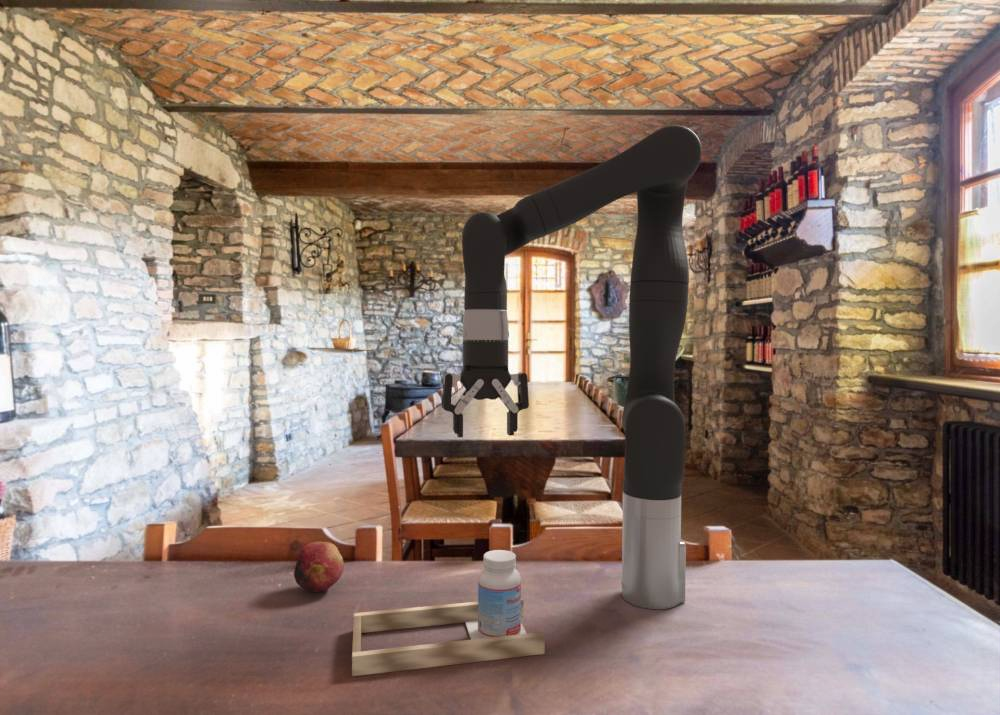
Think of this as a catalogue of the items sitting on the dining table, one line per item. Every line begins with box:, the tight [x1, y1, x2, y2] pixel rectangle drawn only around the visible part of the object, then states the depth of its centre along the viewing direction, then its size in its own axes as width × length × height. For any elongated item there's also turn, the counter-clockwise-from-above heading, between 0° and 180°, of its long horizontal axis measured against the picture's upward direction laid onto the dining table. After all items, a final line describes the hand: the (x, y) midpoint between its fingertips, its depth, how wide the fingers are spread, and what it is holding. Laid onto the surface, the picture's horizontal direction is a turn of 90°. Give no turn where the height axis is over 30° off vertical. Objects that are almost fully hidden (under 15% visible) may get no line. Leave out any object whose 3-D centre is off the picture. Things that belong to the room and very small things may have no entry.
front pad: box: [464, 621, 527, 640], centre depth 84 cm, size 8×9×1 cm
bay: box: [351, 596, 546, 677], centre depth 82 cm, size 25×12×2 cm, turn 103°
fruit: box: [293, 541, 345, 593], centre depth 99 cm, size 8×8×8 cm
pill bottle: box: [477, 549, 522, 638], centre depth 84 cm, size 6×6×11 cm
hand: (485, 435), depth 98 cm, fingers open, 8 cm apart
